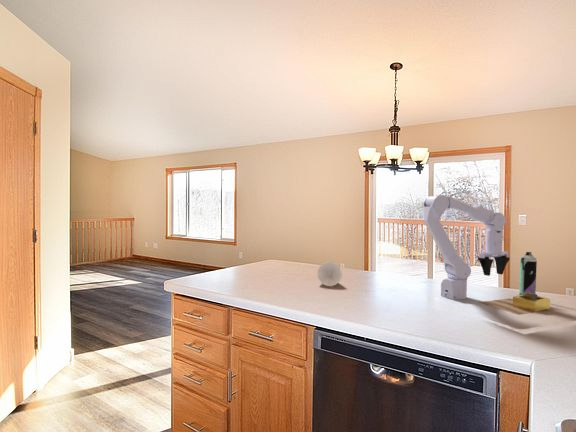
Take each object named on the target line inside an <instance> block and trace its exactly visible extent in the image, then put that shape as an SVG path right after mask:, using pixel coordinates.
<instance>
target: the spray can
mask: <svg viewBox="0 0 576 432" xmlns="http://www.w3.org/2000/svg"><path fill="white" fill-rule="evenodd" d="M519 261H520V264H519V269H520V270H519V291H518V292H519V294H518V295H522V294H527V293H528V294H536V292H537V290H536V288H537V267H538V266H537V263H538V261H537V258H536V257H534V255H533V254H532V252H531V251H526V252H525V254H524V255H523V256H521V257H520V260H519ZM536 295H537V294H536Z"/></svg>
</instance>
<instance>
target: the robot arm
mask: <svg viewBox="0 0 576 432" xmlns="http://www.w3.org/2000/svg"><path fill="white" fill-rule="evenodd" d="M422 208H423V222H424V223H425V226H426V227H427V229H428V231H429V233H430V235H431V237H432V239H433V240H434V242H435V244H436V246H437V247H438V249H439V252H440V253H441V255H442V258H443V260H442V262H443V265H444V270H445V273H446V274H447V277H446V278H445V279H443V280H442V281H441V282H440V297H442V298H445V299H449V300H452V301H454V300H466V299H467V295H468V294H467V291H468V289H467V287H468V278H469V277H470V276H471V273H472V270H471V266H470V265H468V264H467V263H466V262H465V260H464V259H463V258H462V257H461V256H460V255H459V254H458V253H457V250H456V249H455V247H454V245H453V244H452V242H451V240H450V237H449V236H448V234H447V232H446V231H445V228H444V226H443V225H442V223H441V221H440V220H441V217H442V215H443V214H444V213H445V212H446V211H447V209H454V210H457V211H459V212H462V213H465V214H468V217H469V218H471V219H473V220H475V221H477V222H480V223H483V224H484V225H485V227H486V229H485V230H486V235H485V242H486V243H485V251H484V252H479V253H478V257H477V260H478V262H479V263H480V266H481V268H482V272H483V275H484V276H488V277H490V275H491V272H492V270H491V269H492V265H493V263H494V261H495V265H496V267H495V268H496V274H497V275H504V272H505V269H506V266H507V264H508V262H509V261H510V258H511V257H509V251H503V231H504V226H505V225H506V224H507V219H506V216H505V215H504V214H503V213H502V212H495V211H494V209H491V208H490V209H489V208H485V207H484V205H482V204H476V205H475V204H474V205H473V206H472V205H469V204H467V203H465V202H462V201H461V200H458V199H456V198H453V197H451V196H446V195H444V194H438V195H428V196H427V197H426V198H425V199H424V201H423V204H422ZM491 258H494V259H491Z"/></svg>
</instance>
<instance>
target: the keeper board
mask: <svg viewBox="0 0 576 432" xmlns="http://www.w3.org/2000/svg"><path fill="white" fill-rule="evenodd" d="M537 296H538V294H531V300H533V301H535V300H537ZM478 304H481V305H485V306H489V307H491V308H492V307H493V308H495V309H499V310H502V311H505V312H509V313H511V314H515V315H525V314H534V313H535V312H534V311H530V310H526V309H523V308H519V307H516V306H513V298H502V299H501V298H500V299H494V300H486V301H485V300H484V301H478ZM551 310H553V308H549V309H545V310H541V311H537V312H536V313H539V312H546V311H547V312H548V311H551Z"/></svg>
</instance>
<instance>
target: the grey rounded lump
mask: <svg viewBox="0 0 576 432" xmlns="http://www.w3.org/2000/svg"><path fill="white" fill-rule="evenodd" d="M316 275H317V278H318V280H319V282H320V283H321V284H322V285H324V286H327V287H333V286H336V285H337V284H339V283H340V281H341V280H342V277H343V276H342V275H343V273H342V269H341V267H340V266H339V264H338V263H336V262H334V261H326V262H323V263H322V264H320V265H319V266H318V269H317V272H316Z"/></svg>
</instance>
